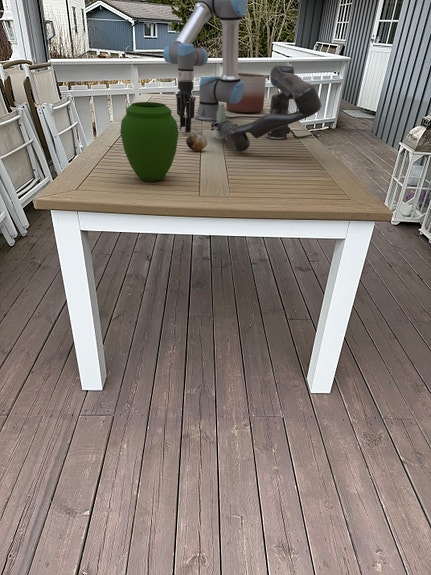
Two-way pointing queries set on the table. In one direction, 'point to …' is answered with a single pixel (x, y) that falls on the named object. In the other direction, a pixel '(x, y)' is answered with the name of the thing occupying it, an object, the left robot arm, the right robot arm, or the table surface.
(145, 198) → the table surface
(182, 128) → the cap
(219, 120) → the bottle
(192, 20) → the left robot arm
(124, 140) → the vase
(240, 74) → the planter
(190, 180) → the table surface
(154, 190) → the table surface
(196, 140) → the seashell
